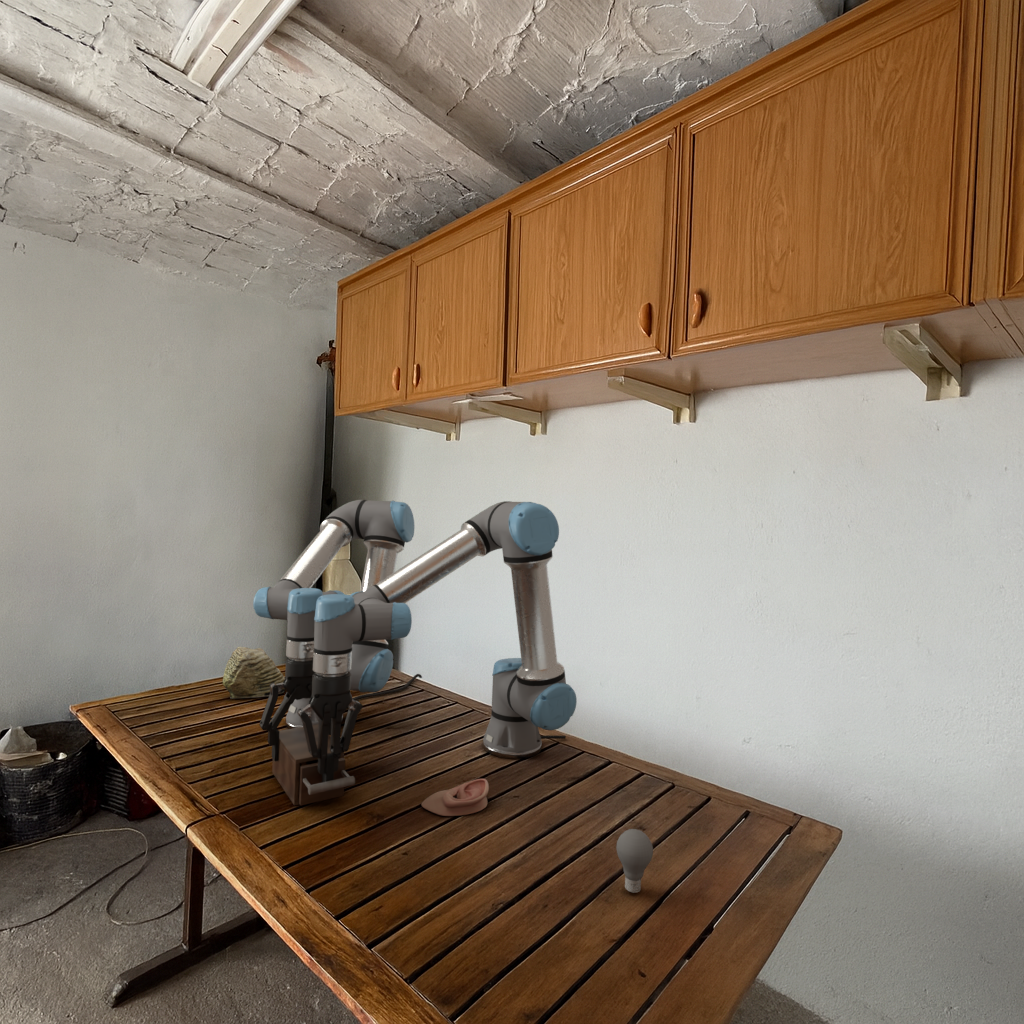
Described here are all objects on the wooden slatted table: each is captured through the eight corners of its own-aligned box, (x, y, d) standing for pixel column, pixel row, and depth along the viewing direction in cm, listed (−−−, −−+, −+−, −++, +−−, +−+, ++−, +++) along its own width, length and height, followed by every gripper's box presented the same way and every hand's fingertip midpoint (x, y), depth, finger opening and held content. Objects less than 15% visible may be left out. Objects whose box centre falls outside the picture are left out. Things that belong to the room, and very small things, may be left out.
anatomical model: (416, 792, 129) (434, 769, 140) (415, 812, 129) (434, 787, 140) (479, 801, 126) (493, 777, 137) (479, 821, 126) (492, 795, 137)
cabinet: (342, 794, 135) (344, 750, 135) (294, 805, 129) (295, 759, 129) (316, 763, 150) (318, 724, 150) (272, 772, 144) (273, 731, 144)
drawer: (354, 807, 128) (355, 770, 128) (309, 818, 123) (310, 779, 123) (319, 766, 147) (320, 733, 146) (279, 774, 141) (280, 740, 141)
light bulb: (610, 879, 108) (613, 822, 108) (644, 879, 109) (647, 822, 109) (619, 902, 102) (622, 840, 102) (655, 901, 103) (658, 840, 103)
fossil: (218, 695, 195) (220, 647, 195) (278, 685, 208) (279, 640, 207) (228, 703, 189) (230, 653, 188) (289, 692, 201) (290, 645, 201)
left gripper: (254, 666, 134) (250, 770, 135) (357, 655, 147) (353, 750, 147) (246, 658, 140) (243, 757, 141) (346, 648, 153) (342, 739, 154)
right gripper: (304, 680, 121) (299, 803, 121) (369, 673, 128) (364, 788, 129) (293, 671, 127) (289, 787, 127) (356, 664, 134) (351, 774, 135)
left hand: (299, 754), depth 144 cm, fingers closed on cabinet, 10 cm apart
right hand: (327, 787), depth 128 cm, fingers closed
